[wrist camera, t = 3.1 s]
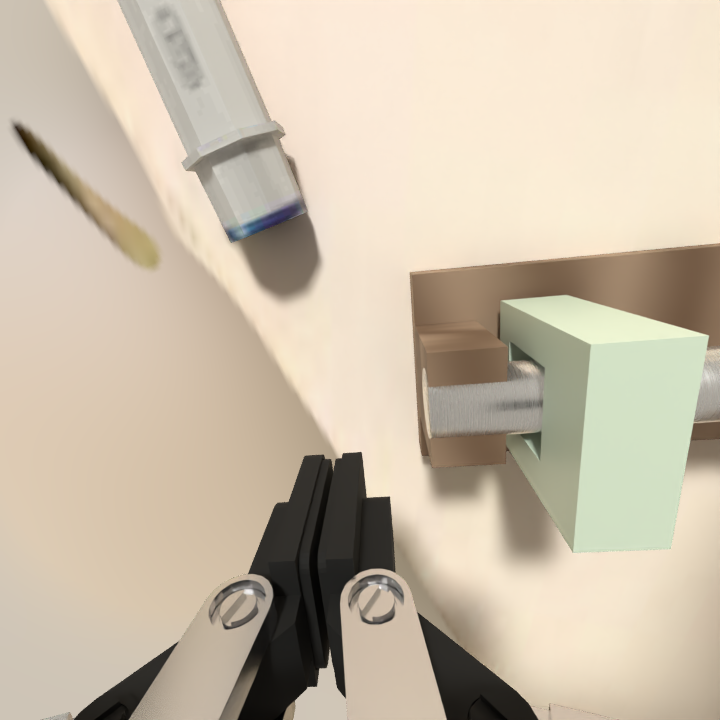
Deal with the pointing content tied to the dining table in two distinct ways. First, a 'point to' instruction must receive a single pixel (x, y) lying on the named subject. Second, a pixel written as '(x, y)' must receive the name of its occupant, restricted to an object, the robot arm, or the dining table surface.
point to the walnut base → (541, 279)
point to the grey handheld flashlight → (216, 112)
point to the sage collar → (606, 418)
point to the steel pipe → (527, 401)
